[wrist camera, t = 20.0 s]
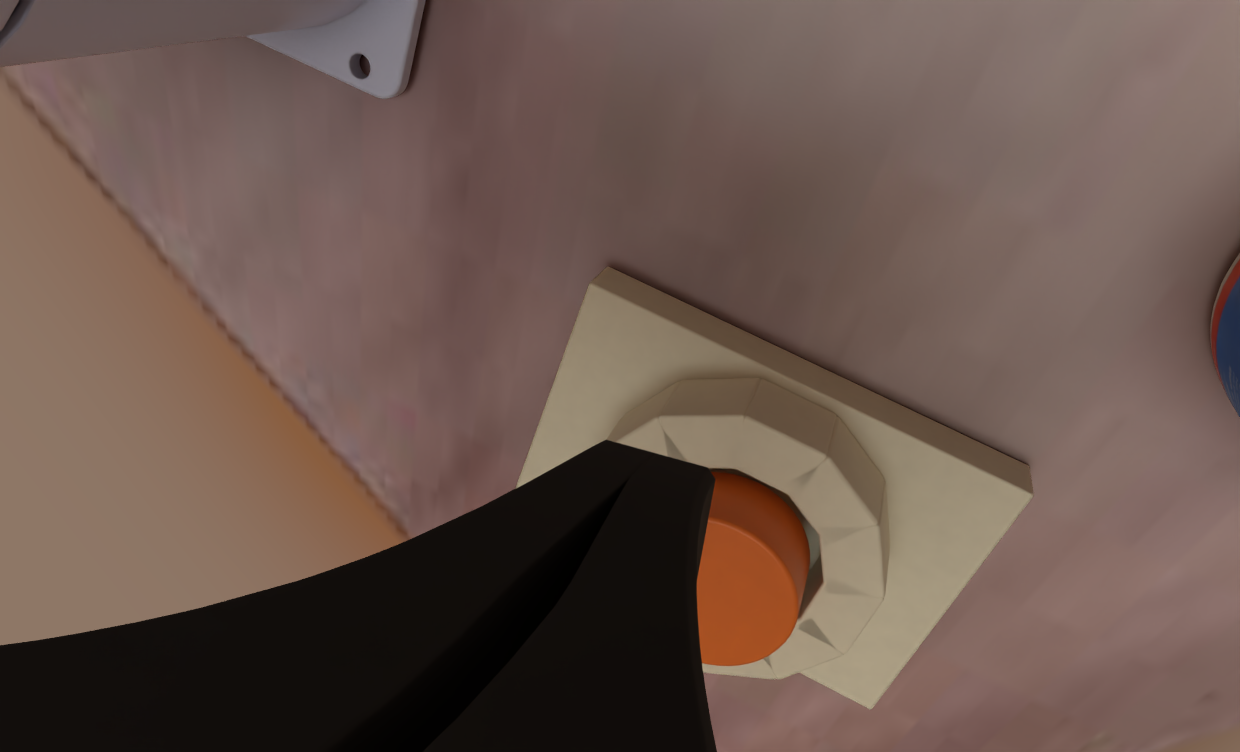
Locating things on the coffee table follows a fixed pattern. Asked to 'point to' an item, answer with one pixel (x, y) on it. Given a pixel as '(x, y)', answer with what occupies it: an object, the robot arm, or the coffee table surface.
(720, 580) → the button
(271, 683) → the robot arm
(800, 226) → the coffee table surface
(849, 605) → the switch block
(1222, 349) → the pill bottle
